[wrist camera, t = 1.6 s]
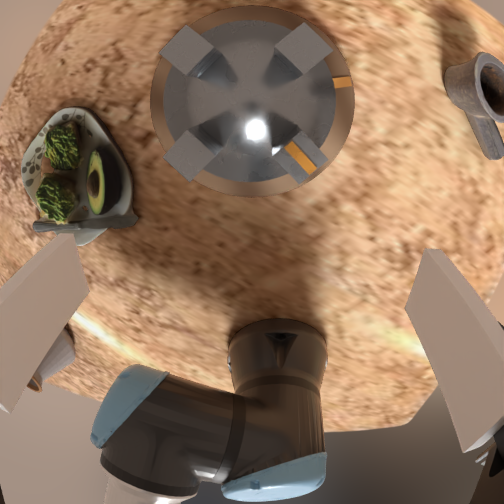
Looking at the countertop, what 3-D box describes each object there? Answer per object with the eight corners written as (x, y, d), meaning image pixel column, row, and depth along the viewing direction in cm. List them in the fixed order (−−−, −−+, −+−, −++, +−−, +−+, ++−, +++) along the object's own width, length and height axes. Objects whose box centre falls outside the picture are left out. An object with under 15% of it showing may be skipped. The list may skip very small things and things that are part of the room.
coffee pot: (91, 348, 49) (58, 410, 36) (63, 357, 52) (34, 410, 39) (18, 261, 40) (-34, 313, 27) (-1, 282, 43) (-44, 328, 30)
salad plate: (70, 266, 40) (55, 283, 36) (10, 173, 32) (-10, 184, 28) (161, 205, 34) (146, 221, 30) (86, 86, 27) (63, 88, 23)
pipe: (471, 160, 28) (510, 180, 21) (423, 67, 23) (462, 64, 16) (499, 137, 26) (539, 153, 19) (455, 47, 21) (497, 43, 14)
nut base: (250, 225, 34) (249, 234, 32) (123, 108, 28) (114, 110, 26) (386, 111, 27) (393, 112, 25) (252, -21, 20) (251, -29, 18)
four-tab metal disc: (249, 203, 31) (243, 233, 25) (144, 105, 26) (110, 111, 20) (361, 107, 25) (386, 112, 19) (250, -1, 20) (244, -27, 14)
